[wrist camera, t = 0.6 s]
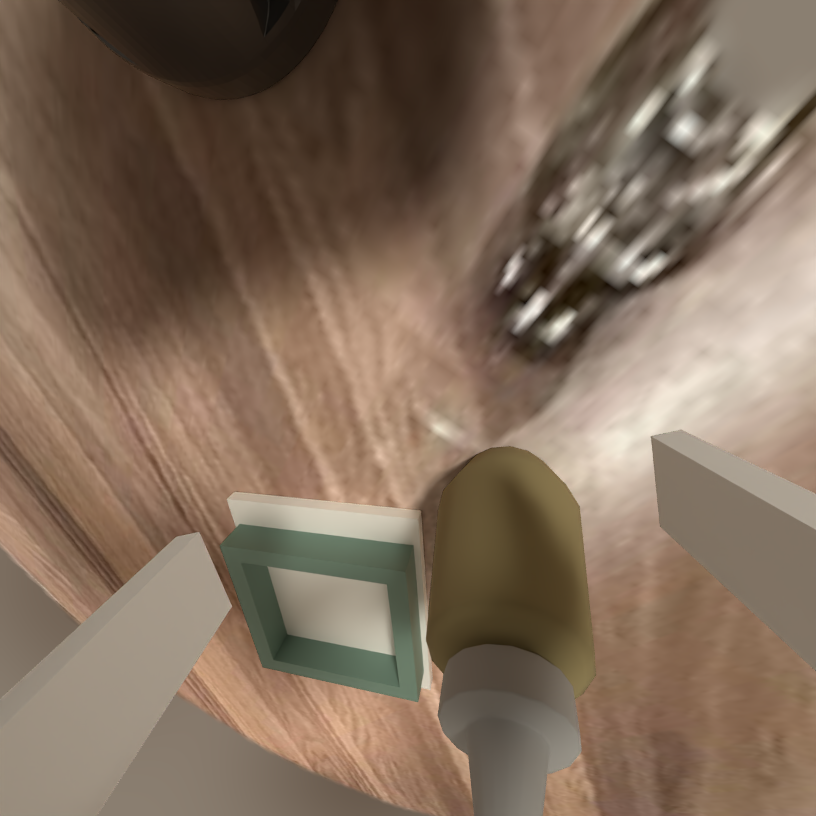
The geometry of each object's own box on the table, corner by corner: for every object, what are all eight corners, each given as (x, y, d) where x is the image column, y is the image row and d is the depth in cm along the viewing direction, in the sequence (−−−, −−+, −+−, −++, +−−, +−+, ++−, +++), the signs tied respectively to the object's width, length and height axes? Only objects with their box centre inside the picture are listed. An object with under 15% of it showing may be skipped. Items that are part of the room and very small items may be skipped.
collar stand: (234, 491, 32) (205, 519, 29) (421, 510, 28) (410, 544, 25) (282, 647, 40) (263, 682, 37) (432, 678, 36) (425, 720, 33)
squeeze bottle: (500, 547, 28) (492, 977, 12) (422, 473, 26) (296, 835, 11) (599, 493, 24) (784, 1008, 8) (513, 404, 23) (530, 799, 7)
